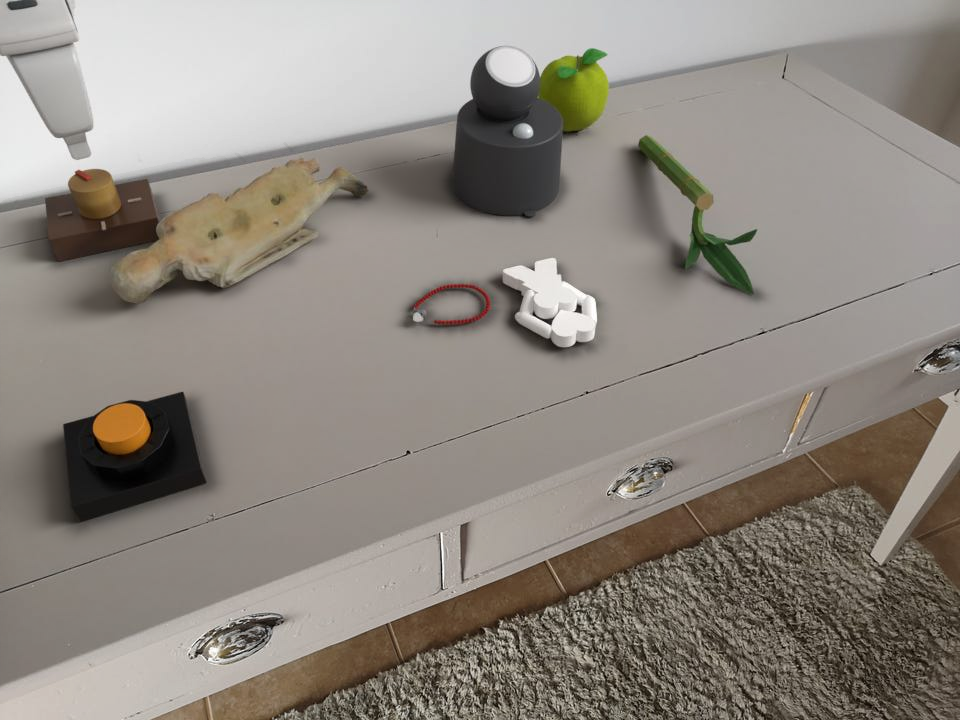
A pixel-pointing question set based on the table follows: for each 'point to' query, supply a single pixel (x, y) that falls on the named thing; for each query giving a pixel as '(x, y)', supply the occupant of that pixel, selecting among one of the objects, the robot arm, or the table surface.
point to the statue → (232, 231)
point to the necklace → (420, 314)
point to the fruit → (576, 88)
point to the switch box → (133, 461)
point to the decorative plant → (700, 218)
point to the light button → (122, 429)
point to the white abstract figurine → (552, 304)
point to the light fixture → (507, 138)
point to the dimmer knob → (94, 193)
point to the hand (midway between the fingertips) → (71, 132)
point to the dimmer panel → (102, 223)
